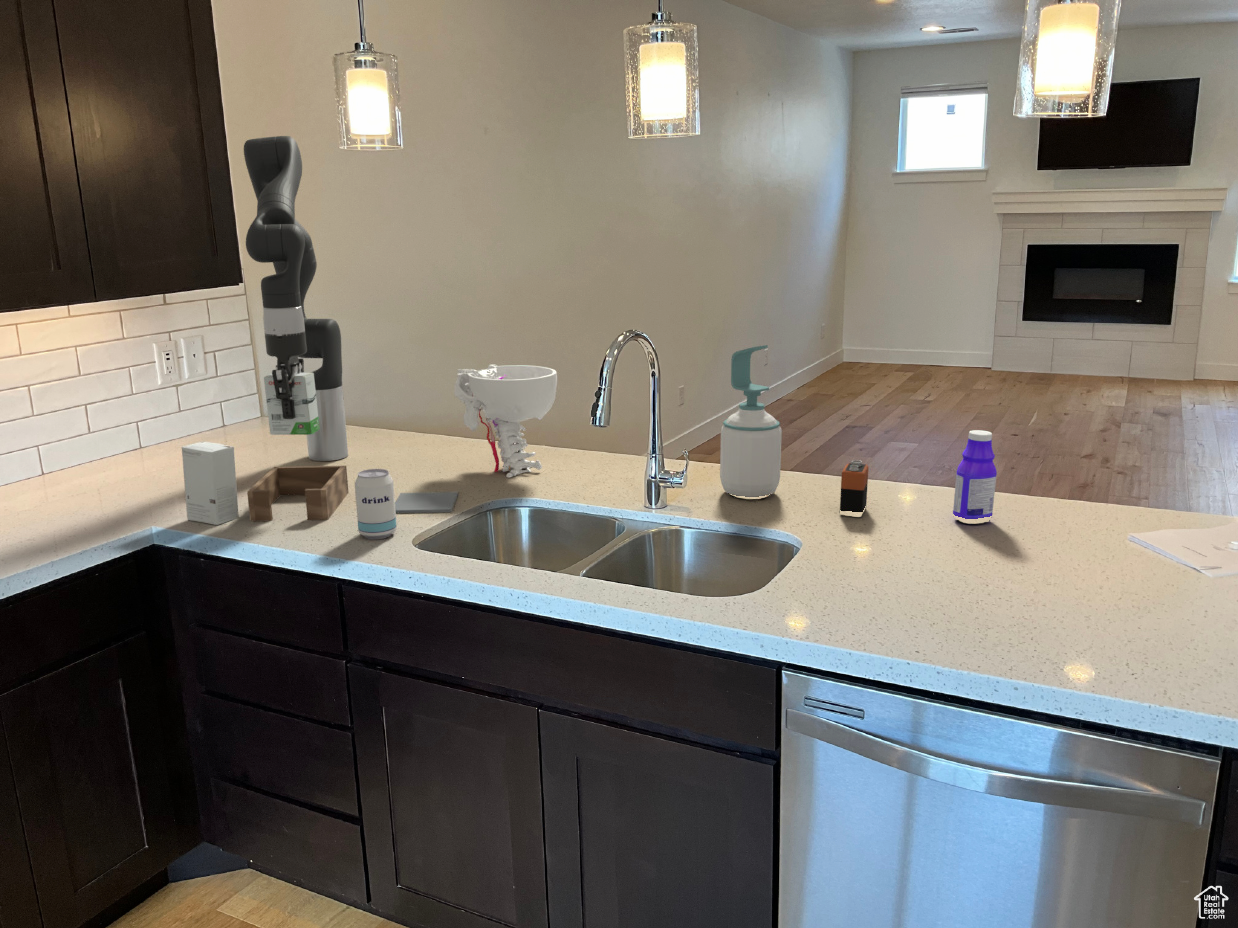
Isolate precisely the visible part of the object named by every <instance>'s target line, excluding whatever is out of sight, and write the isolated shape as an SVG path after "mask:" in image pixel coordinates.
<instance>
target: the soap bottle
mask: <svg viewBox="0 0 1238 928" xmlns="http://www.w3.org/2000/svg"><path fill="white" fill-rule="evenodd" d="M768 348H769V346H768V344H766V345H758V346H752V347H748V348H744V349H741V350H738V351H735V352H733V354H732V356H731V362H730V363H731V367H730V371H731V372H730V375H731V376H730V383H731V386H732V388H733V389H734V390H736V391H737V390H738V391H741V392H742V391H743V396H746V401H745V402H741V403H739V406H738V410H737V411H736V412H734V413H732V414H731V415H730V416H728V418H726V419H724V421H723V422H722V426H721V429H720V454H719V455H720V456H719V457H720V461H719V464H720V465H719V468H720V469H719V471H720V472H719V478H720V483H721V487H722V488H723V490H724V491H725V492H726V494H728V493H729V494H732V495H736V496H745V497H759V496H765V495H769V494H771V493H773V494H775V493H774V492H776V491H777V489H778V487H779V483H780V479H781V468H782V467H781V464H782V463H781V462H782V461H781V460H782V435H783V434H782V432H783V431H782V427H781V426H780V425H781V422H780V421H778V420H777V419H776V418H775V417H774V416H773V415H771V414H770V413H768V412H767V411H766V410H765V407H766V406H765V404H764V403H763V402H758V397H759V396H761V394H762V393H761V392H766V391H770V386H765V385H760V384H754V383H752V380H751V358H752V354H753V353H754V352H757V351H761V350H764V349H768ZM729 494H728V495H729Z"/></svg>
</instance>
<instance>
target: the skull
mask: <svg viewBox="0 0 1238 928" xmlns="http://www.w3.org/2000/svg"><path fill="white" fill-rule="evenodd" d="M456 377H457V378H456V381H455V383H454V388H453V389H454V390H453V391H454V396H455V397H456V398H458V400H459V401H460V402H461V403H463V404H465V412H464V413H463V415H462V416H463V423H464V426H465V427H468V428H469V430H470V432H474V431H476V430H477V429H478V427H479V425H480V423H481V424H482V425H484V426H485V427H486V428H487V433H486V440H487V442H488V444H489V445H490V447H491V450H492V451H491V452H492V455H493V459H494V462H495V467H494V473H495V472H499V469H500V459H501V462H502V463H503V464H502V472H503V473H506V472H507V471H508V473H507V474H506V475H505V476H506V478H512V477H517V476H519V475H520V474H524V473H528V472H529V473H531V472H532V470H531V468H533V469H536V470H539V471H541V470H542V469H543V466H542V463H541V462H540V460H539V459H536V460H535V461H534V460H527V459H529V458H531V457H535V456H536V452H535V451H532V452H526V450H525V449H526V448H527V447H528V446H529V445H528V444H529V443H527V439H526V438H522V437H523V436H524V437H525V433H524V432H525V431H526V428H525V426H524V425H522V424H521V423H520V422H524V421H528V420H530V419H537V420H540V421H541V420H542V419H543V418H544V417H545V416H546V415H547V413H548V412H549V411H550V410H551V408H552V406H554V402H555V399H556V397H557V396H556V394H557V387H558V386H557V385H558V372H557V370H555V369H553V368H550V367H546V366H539V365H538V366H537V365H517V364H515V365H514V364H513V365H497V364H489V365H488V367H487V368H485V369H478V370H476V369H474V368H464V369H463V368H459V369H458V368H457V373H456ZM481 411H483V415H484V418H485V420H486V423H485V422H484V421H483V417H482V416H481ZM478 419H480V423H479V420H478ZM490 422H491V423H492V424H493V427H492V426H491V423H490ZM492 428H493V429H492ZM493 431H494V433H495V435H494V433H493ZM521 431H523V432H521ZM496 439H499V440H498V441H497V447H496ZM497 448H498V449H500V451H499V455H500V458H499V456H498V450H497Z"/></svg>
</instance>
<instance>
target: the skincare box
mask: <svg viewBox="0 0 1238 928" xmlns="http://www.w3.org/2000/svg"><path fill="white" fill-rule="evenodd" d="M181 454H182V455H181V457H182V469H183V481H184V482H183V483H184V493H185V495H184V496H185V506H186V508H185V509H186V518H187V521H191V522H198V523H205V524H210V525H215V526H219V525H221V524H225V523H227V522H230V521H232V520H235V519H238V518H239V504H238V503H239V502H238V489H237V488H238V487H237V473H236V461H235V460H236V459H235V457H236V456H235V448H234V446H233V445H232V446H231V445H226V444H222V443H218V442H209V441H200V442H195V443H193V444H191V443H190V444H187V445H183V446H181Z"/></svg>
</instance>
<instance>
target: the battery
mask: <svg viewBox="0 0 1238 928" xmlns="http://www.w3.org/2000/svg"><path fill="white" fill-rule="evenodd" d="M868 483H869V464H864V463H863V461H862V460H860V459H852V460H851V461H850V462H848V463H846V464H845V466H844V468H843V469H842V471H841V480H840V497H839V511H840V510H841V511H852V512H863V510H864V508H865V506H866V507H867V498H868V497H867V496H868Z"/></svg>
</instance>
